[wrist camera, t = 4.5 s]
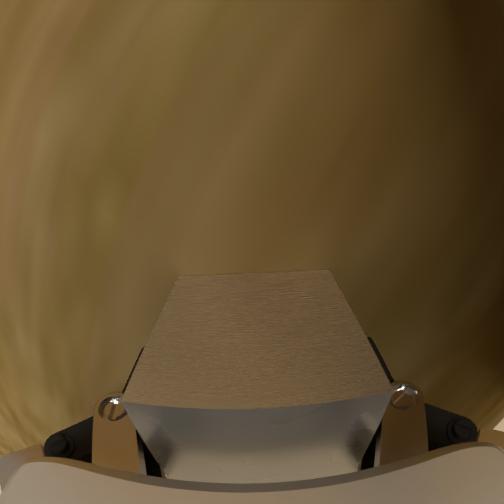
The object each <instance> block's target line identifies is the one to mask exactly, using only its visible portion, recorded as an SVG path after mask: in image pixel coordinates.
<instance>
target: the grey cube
mask: <svg viewBox="0 0 504 504" xmlns="http://www.w3.org/2000/svg"><path fill="white" fill-rule="evenodd" d="M393 391H394V390H393V388H392V386H391V384H390V382H389V380H388V378H387V376H386V374H385V372H384V370H383V368H382V366H381V364H380V362H379V360H378V358H377V356H376V354H375V352H374V350H373V348H372V346H371V344H370V343H369V341H368V339H367V337H366V335H365V333H364V331H363V329H362V328H361V326H360V324H359V322H358V320H357V318H356V316H355V315H354V313H353V311H352V309H351V307H350V306H349V304H348V302H347V300H346V298H345V297H344V295H343V293H342V291H341V290H340V288H339V286H338V284H337V283H336V281H335V279H334V277H333V276H332V274H331V272H330V270H329V269H322V270H304V271H285V272H265V273H243V274H218V275H190V276H179V277H178V279H177V281H176V283H175V285H174V287H173V289H172V291H171V293H170V295H169V297H168V299H167V301H166V303H165V305H164V307H163V309H162V311H161V313H160V315H159V317H158V319H157V321H156V324H155V326H154V328H153V330H152V332H151V334H150V336H149V338H148V341H147V343H146V345H145V347H144V349H143V352H142V354H141V356H140V358H139V360H138V363H137V365H136V367H135V369H134V372H133V374H132V376H131V379H130V381H129V383H128V385H127V388H126V390H125V392H124V395H123V397H122V400H121V402H122V404H123V406H124V408H125V410H126V412H127V413H128V415H129V417H130V419H131V421H132V422H133V424H134V426H135V427H136V429H137V431H138V433H139V434H140V436H141V438H142V439H143V441H144V442H145V444H146V446H147V447H148V449H149V450H150V452H151V453H152V455H153V456H154V458H155V459H156V461H157V462H158V464H159V465H160V467H161V468H162V470H163V471H164V473H165V474H166V475H167V477H168V478H169V479H175V480H184V481H195V482H209V483H274V482H288V481H298V480H307V479H315V478H322V477H329V476H335V475H341V474H346V473H351V472H355V470H356V468H357V466H358V465H359V463H360V461H361V459H362V457H363V456H364V454H365V452H366V450H367V448H368V446H369V444H370V442H371V440H372V438H373V436H374V434H375V432H376V430H377V428H378V426H379V424H380V422H381V419H382V417H383V415H384V413H385V410H386V408H387V406H388V403H389V401H390V399H391V396H392V394H393Z"/></svg>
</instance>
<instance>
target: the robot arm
mask: <svg viewBox="0 0 504 504" xmlns="http://www.w3.org/2000/svg"><path fill="white" fill-rule="evenodd" d="M367 339H368V341H369V343H370V344H371V346H372V348H373V350H374V352H375V354H376V356H377V358H378V360H379V362H380V364H381V366H382V368H383V370H384V372H385V374H386V376H387V378H388V380H389V382H390V384H391V386H392V388H393V390H394V391H393V394H392V396H391V399H390V401H389V403H388V406H387V408H386V410H385V413H384V415H383V417H382V419H381V422H380V424H379V426H378V428H377V430H376V432H375V434H374V436H373V438H372V440H371V442H370V444H369V446H368V448H367V450H366V452H365V454H364V456H363V457H362V459H361V461H360V463H359V465H358V470H357V471H356V472H351V473H346V474H341V475H335V476H329V477H322V478H315V479H307V480H298V481H288V482H274V483H209V482H195V481H184V480H175V479H167V478H166V477H165V473H164V471H163V470H162V468H161V467H160V465H159V464H158V462H157V461H156V459H155V458H154V456H153V455H152V453H151V452H150V450H149V449H148V447H147V446H146V444H145V442H144V441H143V439H142V438H141V436H140V434H139V433H138V431H137V429H136V427H135V426H134V424H133V422H132V421H131V419H130V417H129V415H128V413H127V412H126V410H125V408H124V406H123V404H122V402H121V400H122V397H123V395H124V392H125V390H126V388H127V385H128V383H129V381H130V379H131V376H132V374H133V372H134V369H135V367H136V365H137V363H138V360H139V358H140V356H141V354H142V352H143V349H144V347H143V348H142V350H141V352H140V354H139V356H138V358H137V360H136V363H135V365H134V367H133V369H132V371H131V374H130V376H129V378H128V380H127V383H126V385H125V387H124V390H123V392H122V393H110V394H107V395H105V396H103V397H102V398H100V399H99V400H98V401H97V403H96V404H95V408H94V416H93V417H90V418H88V419H86V420H84V421H82V422H80V423H77V424H75V425H73V426H71V427H68V428H66V429H64V430H62V431H59V432H57V433H55V434H53V435H51V436H50V437H49V438H48V439H47V440H46V442H45V445H44V446H42V445H41V444H38V445H35V446H32V447H29V448H25V449H22V450H19V451H16V452H12V453H9V454H6V455H4V456H2V457H1V458H0V485H1V490H2V493H1V496H0V504H504V432H502V431H497V430H493V429H489V428H485V427H481V428H480V429H477V427H476V426H475V424H474V423H473V422H472V421H471V420H470V419H468V418H466V417H463V416H460V415H457V414H454V413H451V412H448V411H446V410H443V409H440V408H437V407H435V406H432V405H429V404H426V403H424V397H423V394H422V391H421V390H420V389H419V387H417V386H416V385H414V384H412V383H410V382H406V381H396V382H394V380H393V378H392V376H391V374H390V372H389V370H388V368H387V366H386V364H385V362H384V360H383V358H382V357H381V355H380V353H379V351H378V349H377V347H376V345H375V344H374V342H373V340H372V339H371V338H370V337H367Z"/></svg>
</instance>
